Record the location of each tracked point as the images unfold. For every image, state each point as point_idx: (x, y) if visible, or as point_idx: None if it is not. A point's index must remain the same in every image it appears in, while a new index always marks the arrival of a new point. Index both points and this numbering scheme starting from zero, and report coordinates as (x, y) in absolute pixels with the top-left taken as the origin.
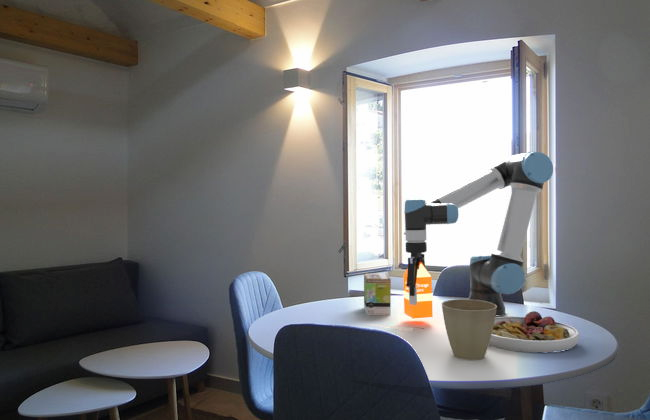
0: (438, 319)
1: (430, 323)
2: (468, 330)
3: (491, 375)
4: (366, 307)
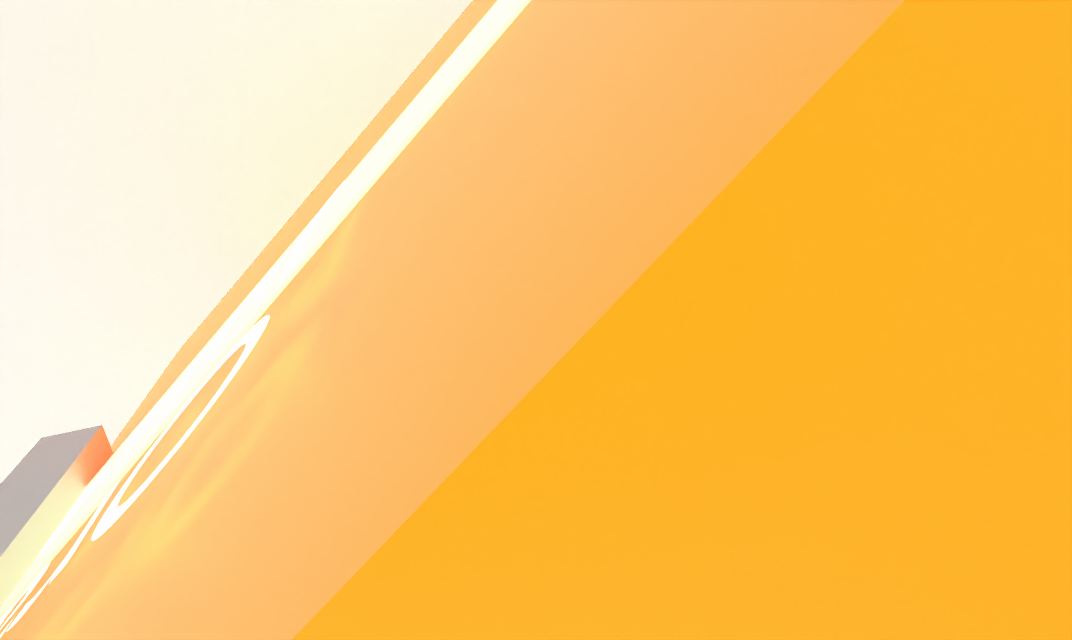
0: (5, 77)
1: (385, 72)
2: None
3: None
4: None
